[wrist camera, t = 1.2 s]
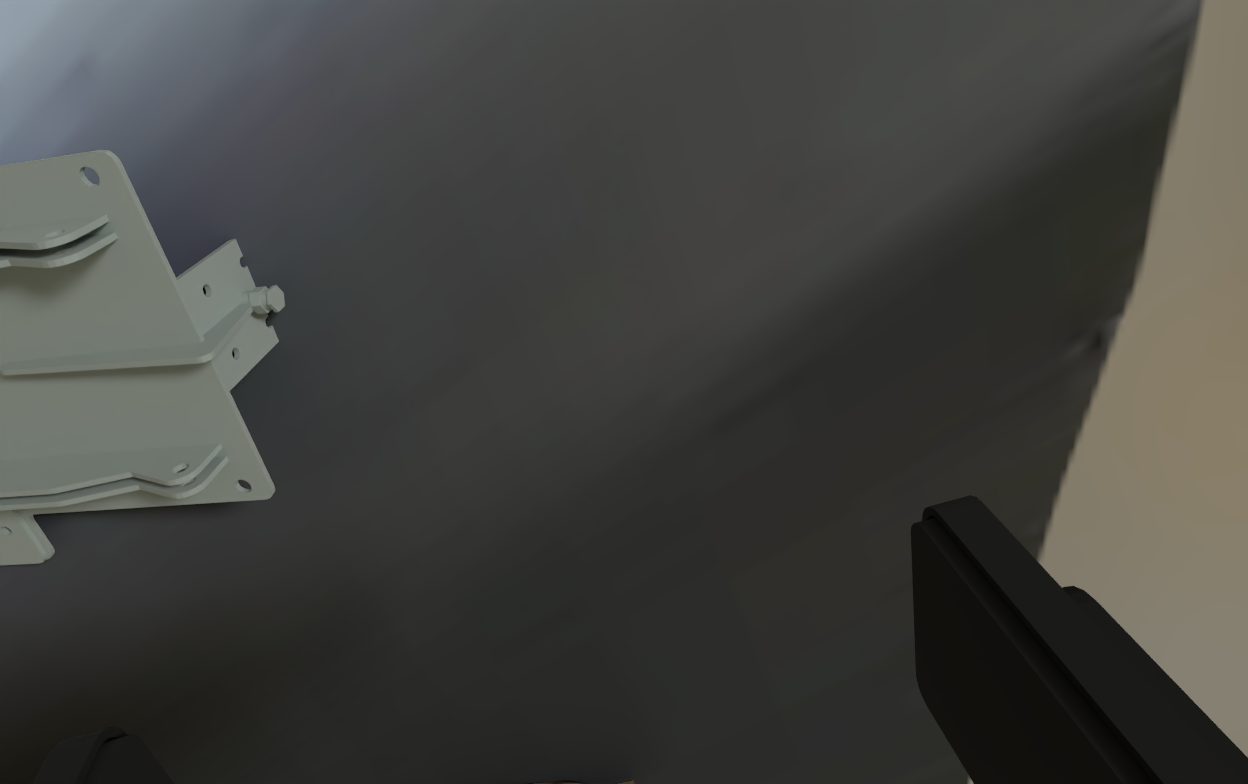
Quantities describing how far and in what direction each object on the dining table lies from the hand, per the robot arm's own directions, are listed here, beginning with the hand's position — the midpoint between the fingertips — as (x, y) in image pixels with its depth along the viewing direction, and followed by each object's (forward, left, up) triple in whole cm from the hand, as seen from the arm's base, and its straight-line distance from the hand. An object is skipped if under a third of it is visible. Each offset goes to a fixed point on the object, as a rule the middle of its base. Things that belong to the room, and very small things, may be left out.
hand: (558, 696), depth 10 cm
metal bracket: (0, -14, -20) cm, 25 cm away
